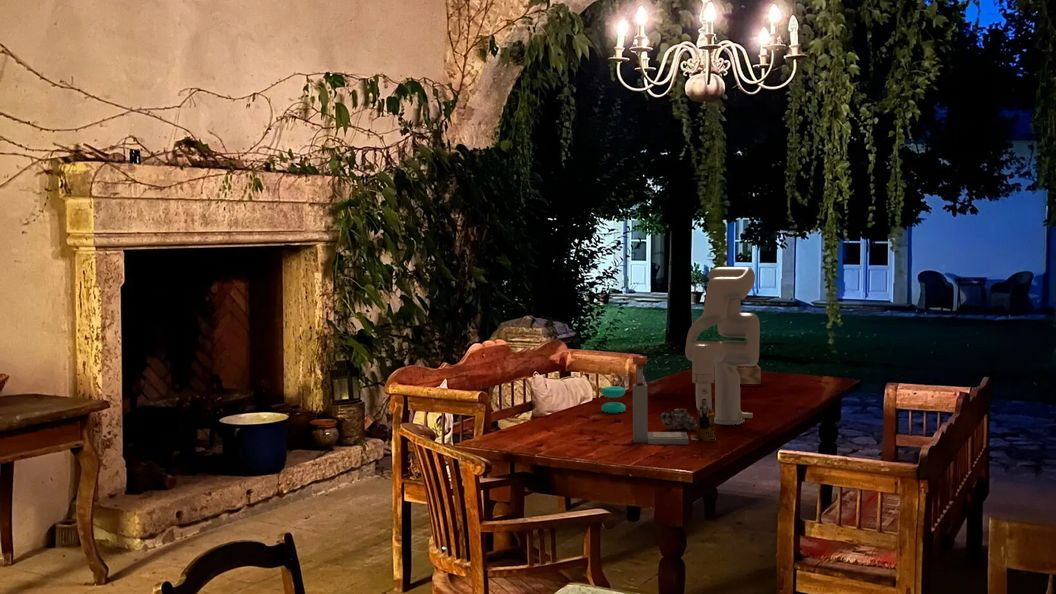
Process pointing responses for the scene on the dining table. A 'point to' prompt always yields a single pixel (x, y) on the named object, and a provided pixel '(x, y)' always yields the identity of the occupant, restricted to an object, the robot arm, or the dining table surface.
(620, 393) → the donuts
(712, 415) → the condiment
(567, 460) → the dining table surface
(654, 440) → the grey l-shaped piece
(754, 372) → the toy crate
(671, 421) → the mineral specimen
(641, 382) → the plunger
